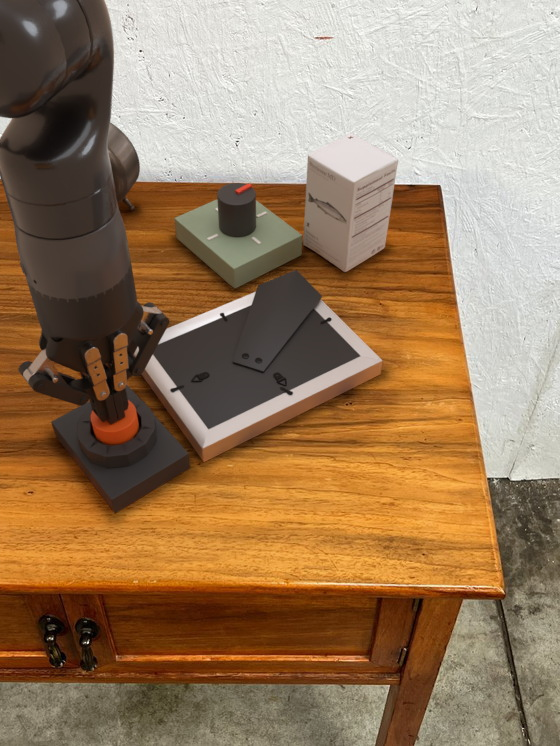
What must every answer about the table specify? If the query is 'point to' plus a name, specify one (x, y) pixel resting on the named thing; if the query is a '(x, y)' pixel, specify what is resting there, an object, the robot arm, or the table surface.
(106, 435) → the orange button cap
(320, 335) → the picture frame
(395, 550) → the table surface
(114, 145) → the alarm clock
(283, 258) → the dial panel
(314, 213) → the white packaging box
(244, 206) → the dial knob
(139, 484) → the button base
